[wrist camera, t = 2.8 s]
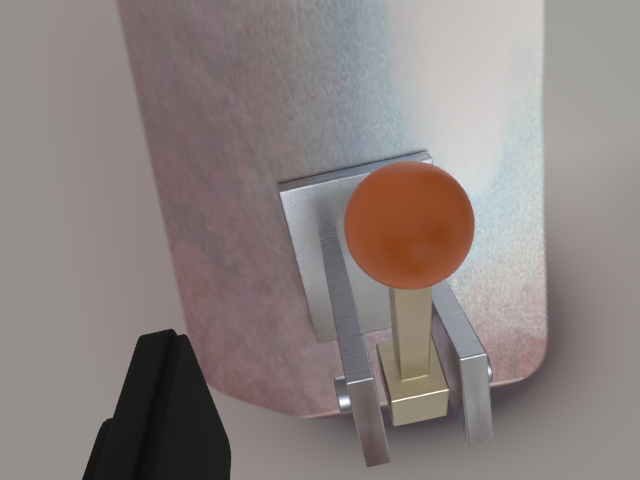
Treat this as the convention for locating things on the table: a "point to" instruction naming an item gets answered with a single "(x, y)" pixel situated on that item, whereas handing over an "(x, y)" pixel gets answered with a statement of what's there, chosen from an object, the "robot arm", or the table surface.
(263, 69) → the table surface
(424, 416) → the lever
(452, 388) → the bracket
